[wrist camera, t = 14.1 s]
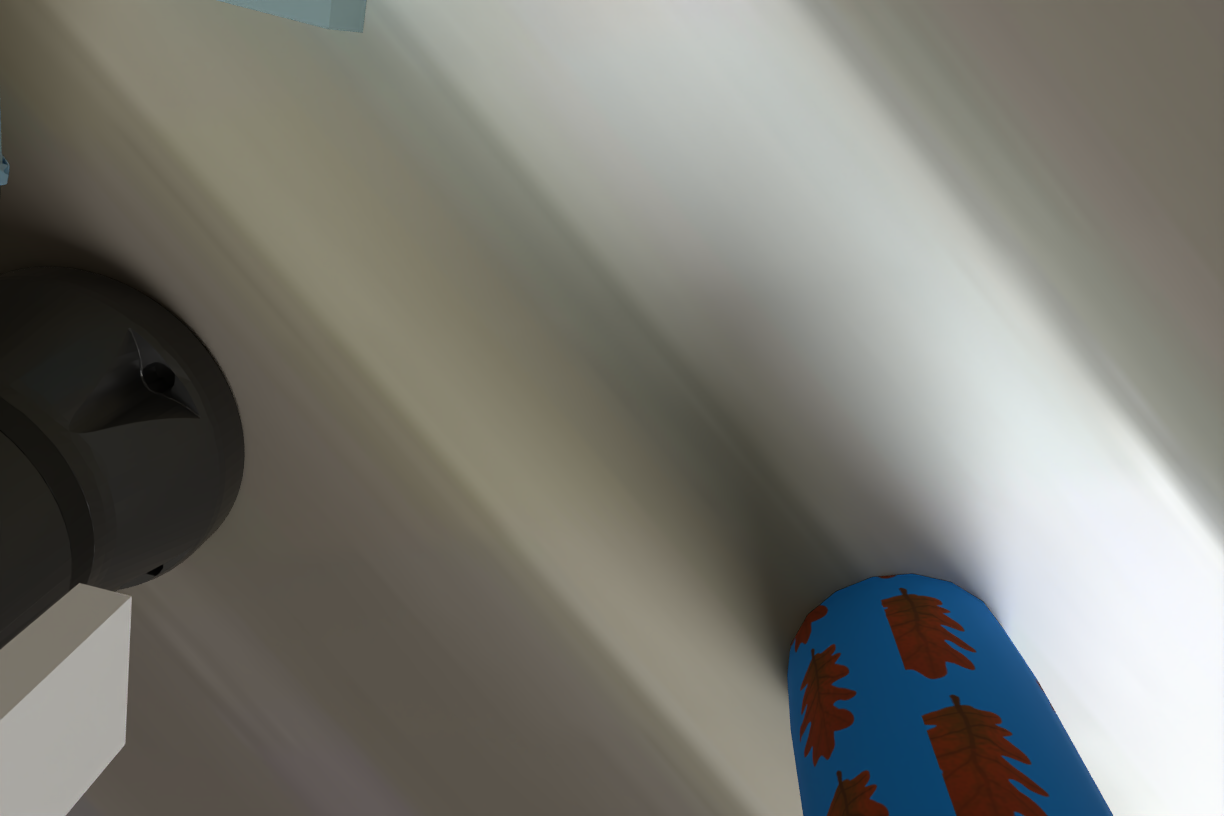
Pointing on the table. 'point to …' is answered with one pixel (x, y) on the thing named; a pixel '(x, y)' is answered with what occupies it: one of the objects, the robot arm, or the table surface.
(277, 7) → the notch board
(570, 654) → the table surface
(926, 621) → the thermos
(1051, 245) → the table surface
